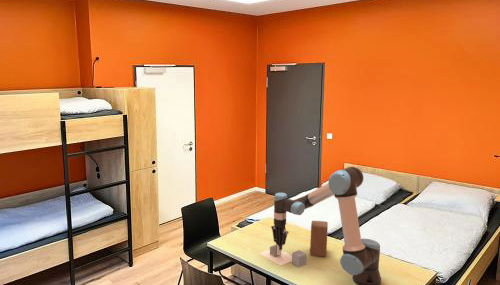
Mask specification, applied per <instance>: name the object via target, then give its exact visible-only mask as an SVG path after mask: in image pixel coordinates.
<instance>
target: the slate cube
mask: <svg viewBox="0 0 500 285" xmlns="http://www.w3.org/2000/svg"><path fill="white" fill-rule="evenodd" d="M291 255H292V261H291V264H292V265H294V266H296V267H298V268H301V267H303V266H305V265H306V264H307V252H303V250H302V251H301V250H300V249H298V250H295V251H293V252H291Z"/></svg>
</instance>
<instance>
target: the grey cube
mask: <svg viewBox="0 0 500 285" xmlns="http://www.w3.org/2000/svg"><path fill="white" fill-rule="evenodd" d="M269 249H270V255H272V256H274V257H277V256H280V255H281V254H280V255H277V248H276V244H274V245H271V246H270V247H269Z"/></svg>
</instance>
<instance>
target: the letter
mask: <svg viewBox="0 0 500 285" xmlns="http://www.w3.org/2000/svg"><path fill="white" fill-rule="evenodd" d="M258 254H259V255H260V256H262V257H264V258H266V259H268V260H270V261H272V262H274V263H276V264H277V265H279V266H283V265H286V264H288V263H290V262H291V263H292V254H289V253H288V252H285V251H283V250H282V254H281V255H280V256H277V257H274V256H272V255H270V248H269V249H267V250H264V251H261V252H259V253H258Z"/></svg>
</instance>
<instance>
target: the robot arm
mask: <svg viewBox="0 0 500 285" xmlns="http://www.w3.org/2000/svg"><path fill="white" fill-rule="evenodd" d="M363 182H364V174H363V171H362V170H360V169H359V168H358V167H356V166H349V167H346V168H342V169H339V170H335V172H333V173H331V174H330V176H329V178H328V182H327V183H326V184H324V185H322V186H319V187H318V188H316V189H314V190H313V191H310V192H309V193H307V194H306V195H304V196H301V197H298V198H296V199H290V198H288V194H287V193H285V192H276V193H275V194H274V200H273V203H274V204H273V205H274V206H273V208H274V209H273V225H271V227H270V228H271V231H272V237H273V238H272V239H273V242H274V243H275V245H276V248H277V255H280V254H282V251H283V246H284V245H286V241H287V238H288V234H289V231H288V230H286V225H287V212H288V213H290V214H293V215H296V216H301V215H303V213H304V212H305V210H307V209H308V208H312V207H313V206H315V205H317V204H319V203H321V202H323V201H325V200H327V199H329V198H332V197H334V198H335V199H337V202H338V209H339V214H340V222H341V228H342V234H343V241H344V245H342V255H341V257H340V259H339V260H340V261H339V263H340V266H341V268H342V269H343V271H345V272H346V273H347V274H349V276H350V275H351V276H352V280H353V282H354V283H355V284H356V285H381V284H382V277H381V273H380V269H379V268H380V267H379V266H380V256H381V255H380V254H381V253H380V252H381V244H380V242H378V241H376V240H374V239H370V238H362V236H361V229H360V223H359V216H358V211H357V210H358V209H357V204H356V203H357V202H356V197H357V196H358V191H357V189H358V188H359V187H360V186H361V185H362V184H363Z"/></svg>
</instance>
